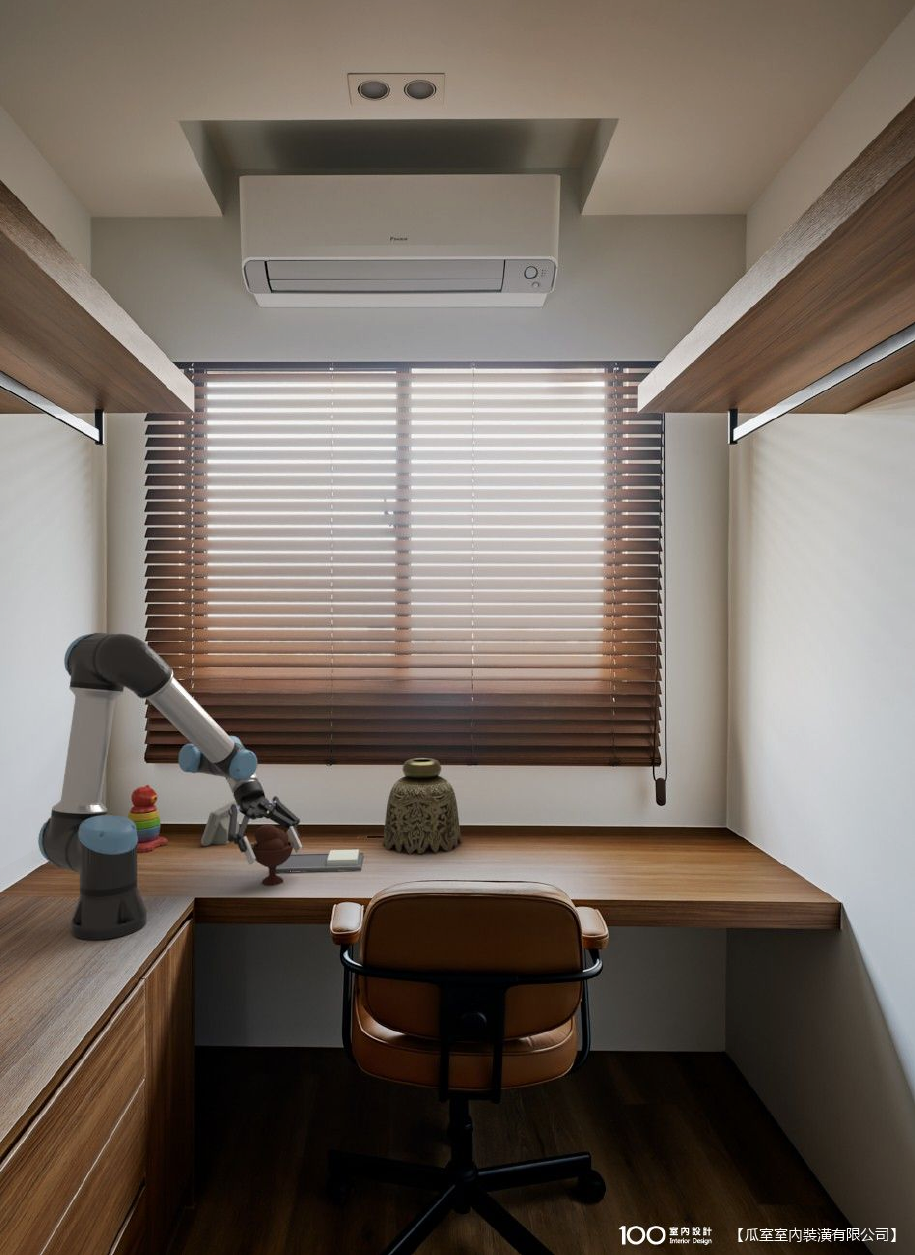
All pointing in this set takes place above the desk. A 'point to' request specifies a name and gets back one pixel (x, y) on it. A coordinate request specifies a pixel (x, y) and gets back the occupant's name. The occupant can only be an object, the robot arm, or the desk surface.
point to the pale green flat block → (343, 858)
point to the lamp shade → (422, 809)
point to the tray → (313, 863)
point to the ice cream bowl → (271, 851)
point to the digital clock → (218, 826)
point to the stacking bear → (146, 819)
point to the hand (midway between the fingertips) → (276, 855)
